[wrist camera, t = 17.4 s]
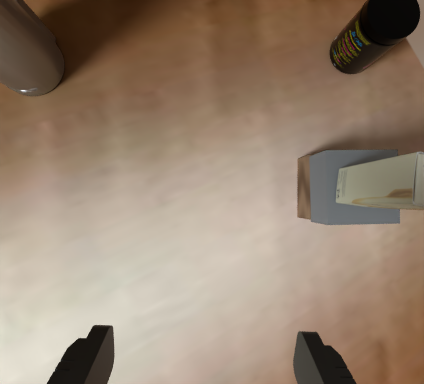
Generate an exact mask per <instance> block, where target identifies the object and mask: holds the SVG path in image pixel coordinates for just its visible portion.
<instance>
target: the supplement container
mask: <svg viewBox="0 0 424 384" xmlns="http://www.w3.org/2000/svg"><path fill="white" fill-rule="evenodd" d="M419 19H420V8H419V4H418V2H417V0H367V1H366V2H365V4H364V5H363V7H362V8H361V9H360V10H359V11H358V12H357V14H356V15H355V16H354V17H353V18H352V19H351V21H350V22H349V23H348V24H347V25H346V26H345V27H344V29H343V30H342V31H341V32H340V33H339V34H338V36H337V37H336V38H335V39H334V40H333V42H332V44H331V47H330V59H331V62H332V64H333V65H334V67H335V68H336V69H338V70H339V71H341V72H343V73H346V74H356V73H359V72H361V71H363V70H364V69H365V68H367V67H368V66H369V65H370V64H372V63H373V62H374V61H376V60H377V59H378V58H379V57H381V56H382V55H383V54H385V53H386V52H387V51H389V50H390V49H391V48H392V47H394V46H395V45H396V44H398V43H400V42H401V41H402V40H403V39H404V38H406V37H407V36H408V35H410V34H411V33H412V32H413V31H414V30H415V28H416V27H417V25H418V22H419Z"/></svg>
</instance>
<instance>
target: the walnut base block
mask: <svg viewBox="0 0 424 384" xmlns="http://www.w3.org/2000/svg"><path fill="white" fill-rule="evenodd" d="M312 155H314V154H309V155H307V156H304V157H302V158H299V159H298V217H299V218H305V219H311V203H310V165H309V156H312Z"/></svg>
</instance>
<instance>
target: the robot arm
mask: <svg viewBox="0 0 424 384" xmlns="http://www.w3.org/2000/svg"><path fill="white" fill-rule="evenodd" d="M63 73H64V59H63V55H62V53H61V51H60V49H59V48H58V47H57V45H56V37H55V36H54V35H53V34H52V33H51V31H50V30H49V29H48V28H47V27H46V26H45V25H44V23H43V22H42V21H41V20H40V19H39V18H38V17H37V15H36V14H35V13H34V12H33V11H32V10H31V9H30V7H29V6H28V5H27V4H26V3H25V2H24V1H23V0H0V82H1V83H2V84H4V85H6V86H7V87H8V88H10V89H12V90H14V91H16V92H18V93H20V94H23V95H27V96H39V95H43V94H45V93H48V92H50V91H51V90H52V89H54V88H55V87H56V86H57V85H58V83H59V82H60V80H61V78H62V76H63ZM113 363H114V335H113V326H110V325H94V326H93V327H92V329H91V331H90V332H89V334H88V336H87V338H78V339H77V340H76V341H75V342H74V343H73V344H72V345H71V346H69V347H68V348H67V350H66V352H65V353H64V355H63V357H62V359H61V362H59V364H58V365H57V367H56V369H55V372H53V374H52V375H51V377H50V379H49V381H48V382H47V384H107V383H108V380H109V377H110V374H111V372H112V368H113ZM293 366H294V373H295V377H296V380H297V383H298V384H356V382H355V380H354V379H353V377H352V375H351V373H350V371H349V370H348V369H347V366H346V364H345V362H344V361H343V359H342V357H341V355H340V354H339V353H338V352H337V351H335V350H334V349H333V348H332V347H331V346H328V345H324V344H323V342H322V340H321V338H320V336H319V335H318V333H317V332H301V331H300V332H298V334H297V340H296V347H295V353H294V360H293Z"/></svg>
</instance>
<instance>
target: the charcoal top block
mask: <svg viewBox="0 0 424 384" xmlns="http://www.w3.org/2000/svg"><path fill="white" fill-rule="evenodd" d="M395 156H398V150H325V151H322V152H320V153H317V154H314V155H312V156H309V165H310V203H311V222H315V223H320V224H325V225H351V224H393V223H400V209H387V208H372V207H361V206H354V205H347V204H340V203H336V190H337V181H338V173H339V169H340V168H344V167H349V166H354V165H358V164H363V163H368V162H372V161H377V160H382V159H386V158H391V157H395Z"/></svg>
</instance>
